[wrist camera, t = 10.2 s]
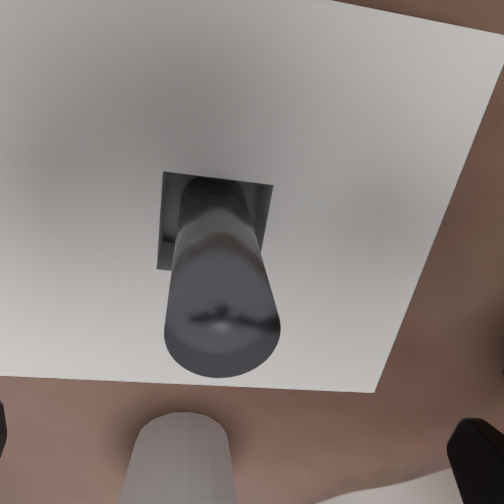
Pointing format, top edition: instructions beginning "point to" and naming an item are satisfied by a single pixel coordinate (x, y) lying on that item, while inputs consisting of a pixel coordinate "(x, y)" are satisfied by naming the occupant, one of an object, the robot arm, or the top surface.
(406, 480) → the top surface
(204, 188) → the steel pin
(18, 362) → the bore board
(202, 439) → the white cup
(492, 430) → the robot arm
